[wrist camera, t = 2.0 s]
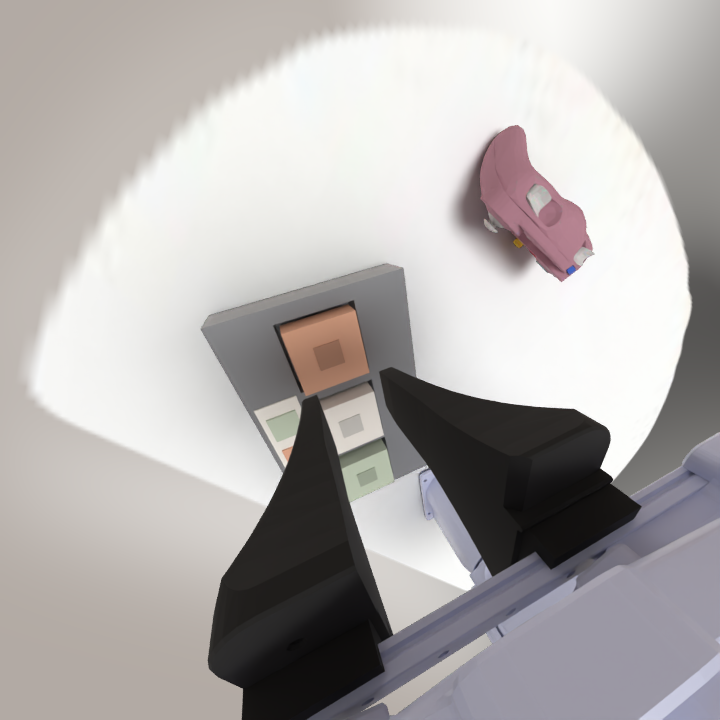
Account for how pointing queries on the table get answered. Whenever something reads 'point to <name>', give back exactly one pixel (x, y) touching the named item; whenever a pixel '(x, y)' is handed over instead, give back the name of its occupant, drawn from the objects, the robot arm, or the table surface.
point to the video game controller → (531, 207)
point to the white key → (352, 416)
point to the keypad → (276, 371)
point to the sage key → (366, 469)
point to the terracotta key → (326, 348)
